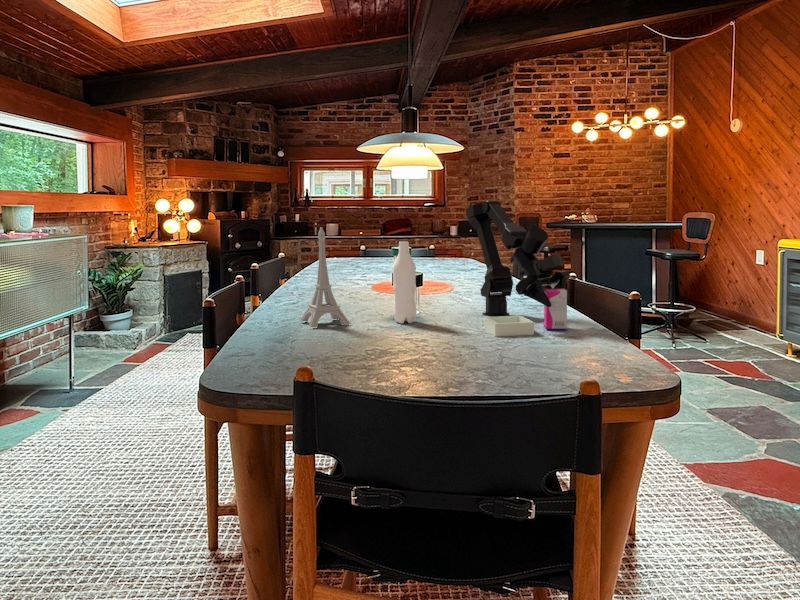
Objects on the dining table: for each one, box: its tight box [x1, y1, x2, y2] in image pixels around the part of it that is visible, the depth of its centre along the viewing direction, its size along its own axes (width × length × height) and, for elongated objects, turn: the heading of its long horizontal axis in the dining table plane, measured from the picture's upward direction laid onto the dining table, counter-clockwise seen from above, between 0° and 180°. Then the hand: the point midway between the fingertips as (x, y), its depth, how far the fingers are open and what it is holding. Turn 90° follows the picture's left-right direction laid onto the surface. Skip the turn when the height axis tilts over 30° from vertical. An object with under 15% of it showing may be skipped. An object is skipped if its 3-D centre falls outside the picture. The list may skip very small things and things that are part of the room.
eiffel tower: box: [299, 226, 351, 327], centre depth 195 cm, size 13×13×30 cm
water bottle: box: [392, 240, 417, 324], centre depth 196 cm, size 7×7×25 cm
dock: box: [483, 315, 535, 337], centre depth 180 cm, size 11×11×4 cm
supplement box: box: [543, 288, 568, 332], centre depth 182 cm, size 6×6×12 cm
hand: (559, 304), depth 181 cm, fingers closed on supplement box, 8 cm apart
